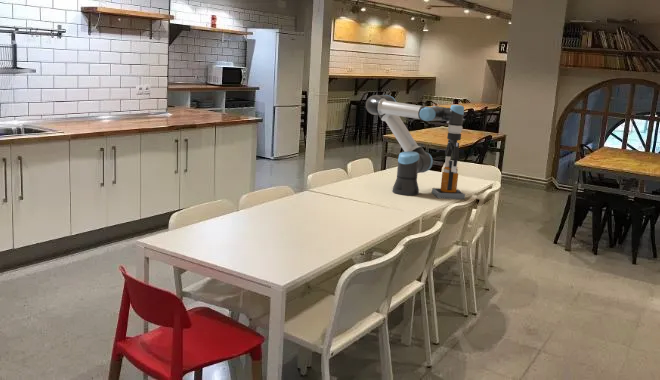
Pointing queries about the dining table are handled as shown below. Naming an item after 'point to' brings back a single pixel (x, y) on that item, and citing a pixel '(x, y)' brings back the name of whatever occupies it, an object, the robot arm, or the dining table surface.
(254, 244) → the dining table surface
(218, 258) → the dining table surface
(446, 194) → the bin
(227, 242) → the dining table surface
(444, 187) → the canister
